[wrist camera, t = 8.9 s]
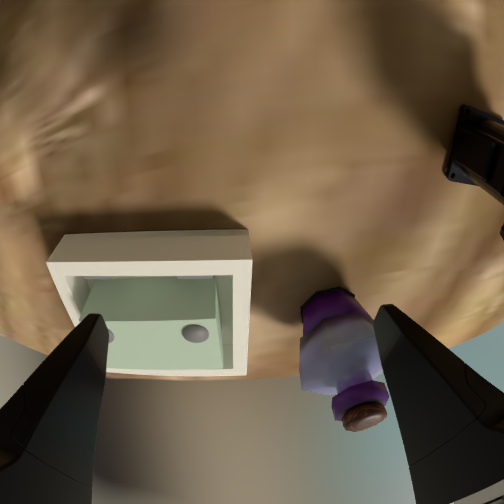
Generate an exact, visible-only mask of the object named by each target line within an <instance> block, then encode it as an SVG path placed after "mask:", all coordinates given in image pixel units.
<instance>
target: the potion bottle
mask: <svg viewBox="0 0 504 504" xmlns="http://www.w3.org/2000/svg"><path fill="white" fill-rule="evenodd" d="M300 308H301V317H302V323H303V337H301V338H300V365H299V372H300V379H301V388H302V390H304V391H309V392H314V393H319V394H324V395H332V394H336V393H338V394H337V395H336V396H334V397H333V398H332V410H333V413H334V418H335V420H338V421H342V422H343V427H344V428H345V429H346V430H348V431H353V432H356V431H361V430H364V429H367V428H369V427H371V426H374V425H376V424H378V423H379V422H381V421H383V420H384V419H385V418H386V417H387V412H386V409H385V407H384V406H385V405H386V403H387V401H388V398H389V395H388V392H387V389H386V387H385V384H384V383H382V382H377V381H373V379H374V378H375V377H377V376H378V375H380V374H381V373H382V372H383V369H382V366H381V361H380V357H379V352H378V347H377V342H376V338H375V333H374V329H373V322H374V320H373V319H372V318H371V317H370V315H369V314H368V313H367V312H366V311H365V310H364V308H363V307H362V306H361V305H360V304H359V303H358V301H357V300H356V299H355V295H354V294H352V293H350V292H349V291H347V290H345V289H343V288H341V287H336V288H331V289H327V290H323V291H318V292H316V293H315V294H314V295H313V296H312V297H311V298H309V299H308V300H307V301H306V302H305V303H304V304H303V305H302V306H301V307H300Z"/></svg>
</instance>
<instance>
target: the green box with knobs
mask: <svg viewBox="0 0 504 504" xmlns="http://www.w3.org/2000/svg"><path fill="white" fill-rule="evenodd" d="M90 313H98V314H101V315H102V316H103V319H104V321H105V323H106V326H107V328H108V331H109V344H108V355H107V367H106V368H116V369H144V370H191V369H220V368H223V347H222V323H221V315H220V307H219V298H218V290H217V281H216V275H213V279H177V276H175V277H155V278H134V279H110V280H95V282H94V284H93V287H92V289H91V291H90V294H89V296H88V298H87V301H86V303H85V306H84V308H83V311H82V313H81V316H80V318H79V322H81V321H82V320H83V319H84V318H85V317H86V316H87V315H88V314H90Z"/></svg>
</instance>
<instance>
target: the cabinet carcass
mask: <svg viewBox="0 0 504 504" xmlns="http://www.w3.org/2000/svg"><path fill="white" fill-rule="evenodd" d="M252 260H253V259H252V253H251V246H250V239H249V232H248V229H230V230H177V231H140V232H110V233H85V234H65V235H64V236H63V238H62V239H61V241H60V242H59V244H58V245H57V246H56V248H55V249H54V251H53V252H52V254H51V255H50V257H49V259H48V260H47V262H46V263H47V266H48V268H49V271H50V273H51V276H52V278H53V281H54V283H55V285H56V288H57V290H58V292H59V294H60V297H61V299H62V301H63V303H64V305H65V307H66V310H67V312H68V314H69V316H70V318H71V320H72V322H73V324H74V326H75V327H76V326H77V325H78V324H79V323H80V322H79V318H80V316H81V313H82V311H83V308H84V306H85V303H86V301H87V298H88V296H89V294H90V291H91V289H92V287H93V284H94V282H95V280H110V279H134V278H155V277H175V276H177V279H213V275H216V281H217V290H218V298H219V307H220V315H221V323H222V347H223V368H220V369H191V370H144V369H116V368H106V372H113V373H125V374H140V375H161V376H238V375H246V373H247V354H248V335H249V317H250V298H251V279H252Z"/></svg>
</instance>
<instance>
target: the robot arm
mask: <svg viewBox="0 0 504 504" xmlns="http://www.w3.org/2000/svg"><path fill="white" fill-rule="evenodd" d="M466 110H467V111H466ZM465 111H466V113H465ZM451 174H452V176H451ZM446 178H447V179H448V180H450V181H453V182H459V183H465V184H470V185H476V186H480V187H481V188H482V189H484V190H485V191H486V192H488V193H489V194H490V195H491V196H493V197H494V198H495V199H497V200H498V201H499V202H500V203H502V204H503V205H504V121H503V120H501V119H499V118H497V117H494V116H492V115H490V114H488V113H485V112H483V111H480V110H478V109H476V108H473V107H471V106H468V105H465V104H463V105H462V106H461V108H460V113H459V118H458V124H457V129H456V134H455V138H454V143H453V147H452V151H451V156H450V160H449V164H448V168H447V171H446ZM500 235H501V236H502V238H503V240H504V223H503V226H502V227H501V230H500ZM373 329H374V333H375V338H376V342H377V347H378V352H379V357H380V361H381V366H382V369H383V373H384V375H385V379H386V382H387V386H388V389H389V392H390V396H391V399H392V402H393V406H394V409H395V413H396V417H397V421H398V424H399V428H400V432H401V436H402V440H403V444H404V448H405V452H406V456H407V461H408V465H409V470H410V474H411V479H412V484H413V489H414V494H415V500H416V504H450V503H453V502H454V504H504V393H503V392H502V391H500V390H499V389H498V388H496V387H495V386H494V385H492V384H491V383H490V382H488V381H487V380H486V379H484V378H483V377H482V376H480V375H479V374H478V373H477V372H475V371H474V370H473V369H472V368H471V367H469V366H468V365H467V364H466V363H464V361H462V360H461V359H460V358H459V357H457V356H456V355H455V354H454V353H453V352H451V351H450V350H449V349H448V348H447V347H446V346H444V345H443V344H442V343H441V342H439V341H438V340H437V339H436V338H435V337H433V336H432V335H431V334H430V333H428V332H427V331H426V330H425V329H423V328H422V327H421V326H420V325H419V324H417V323H416V322H415V321H413V320H412V319H411V318H410V317H408V316H407V315H406V314H405V313H403V312H402V311H401V310H400V309H398V308H397V307H396V306H394V305H393V304H385V305H382V306H380V308H379V310H378V313H377V315H376V317H375V319H374V322H373ZM108 344H109V331H108V328H107V326H106V323H105V321H104V319H103V316H102V315H101V314H98V313H90V314H88V315H87V316H86V317H85V318H84V319H83V320H82V321H81V322H80V323H79V324H78V325H77V326H76V327H75V328H74V329H73V330H72V331H71V332H70V333H69V334H68V335H67V336H66V337H65V338H64V340H63V341H62V342H61V343H60V344H59V345H58V346H57V347H56V348H55V349H54V350H53V351H52V352H51V353H50V354H49V356H48V357H47V358H46V359H45V360H44V361H43V362H42V363H41V364H40V365H39V366H38V368H37V369H36V370H35V371H34V372H33V373H32V374H31V375H30V377H29V378H28V379H27V380H26V381H25V382H24V385H22V386H21V387H20V388H19V389H18V390H17V392H16V393H15V394H14V395H13V396H12V397H11V398H10V399H9V400H8V402H7V403H6V404H5V405H4V406H3V407H2V408H1V409H0V504H91V503H92V502H91V501H92V480H93V467H94V456H95V447H96V437H97V430H98V422H99V415H100V409H101V402H102V396H103V390H104V385H105V378H106V367H107V355H108Z"/></svg>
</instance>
